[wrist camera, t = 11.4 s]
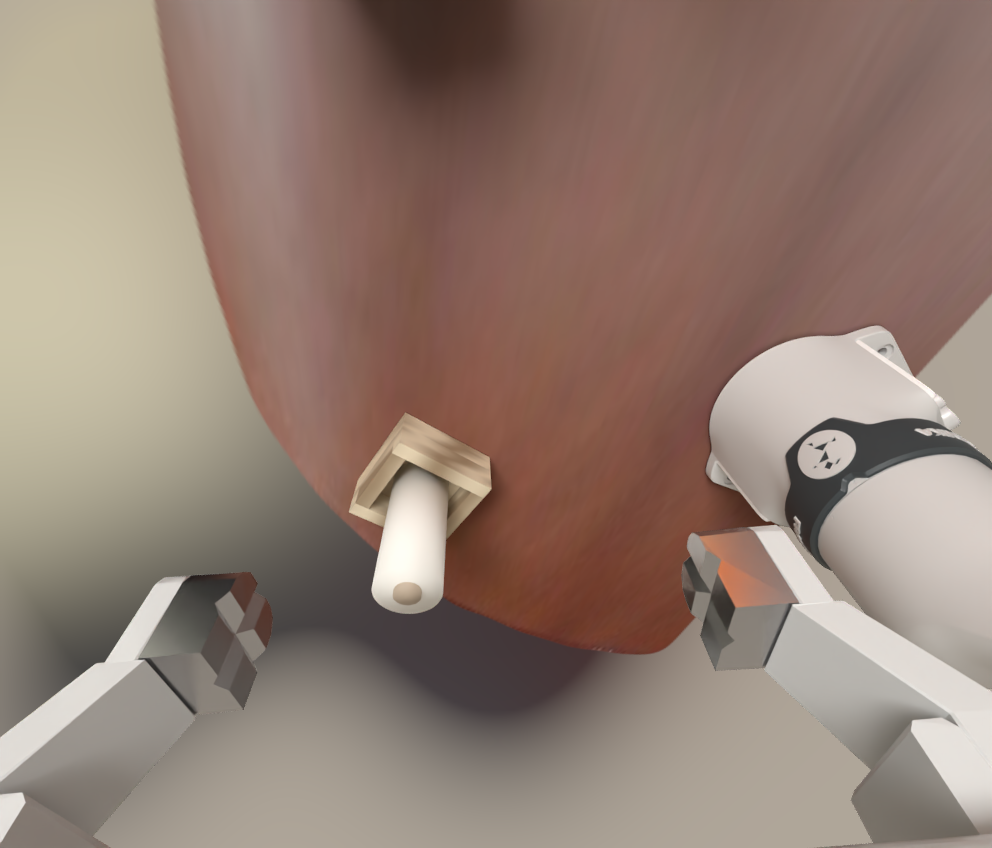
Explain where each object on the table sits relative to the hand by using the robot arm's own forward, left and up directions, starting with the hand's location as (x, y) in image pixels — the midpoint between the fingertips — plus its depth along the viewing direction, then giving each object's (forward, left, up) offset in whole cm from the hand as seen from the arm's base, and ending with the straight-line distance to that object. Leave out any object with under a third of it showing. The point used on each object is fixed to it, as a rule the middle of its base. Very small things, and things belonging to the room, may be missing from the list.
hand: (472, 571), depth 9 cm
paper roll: (-9, +21, -28) cm, 36 cm away
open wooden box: (-9, +21, -30) cm, 38 cm away
